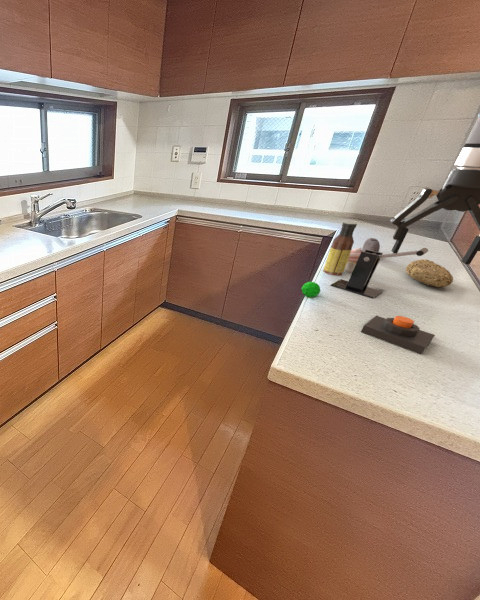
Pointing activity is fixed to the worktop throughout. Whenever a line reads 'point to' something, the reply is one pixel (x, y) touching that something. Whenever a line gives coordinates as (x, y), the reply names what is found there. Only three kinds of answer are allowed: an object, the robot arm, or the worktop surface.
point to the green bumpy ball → (311, 289)
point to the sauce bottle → (340, 250)
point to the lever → (404, 253)
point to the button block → (398, 334)
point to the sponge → (429, 273)
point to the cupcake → (352, 260)
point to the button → (403, 322)
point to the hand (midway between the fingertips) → (428, 257)
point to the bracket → (362, 275)
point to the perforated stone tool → (371, 245)
